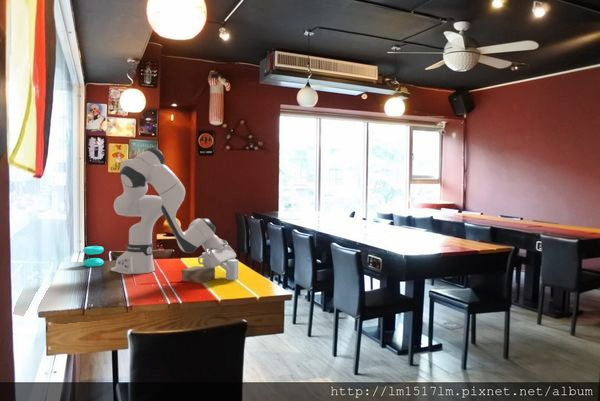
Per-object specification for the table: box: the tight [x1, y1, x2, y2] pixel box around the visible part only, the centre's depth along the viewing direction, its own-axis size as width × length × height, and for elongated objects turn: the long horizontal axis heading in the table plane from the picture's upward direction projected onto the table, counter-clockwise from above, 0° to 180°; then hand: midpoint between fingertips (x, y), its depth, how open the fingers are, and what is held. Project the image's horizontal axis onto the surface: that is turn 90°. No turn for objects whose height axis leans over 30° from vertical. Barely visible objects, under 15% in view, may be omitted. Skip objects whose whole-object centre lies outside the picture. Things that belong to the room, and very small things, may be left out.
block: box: [225, 259, 239, 281], centre depth 220 cm, size 4×4×9 cm
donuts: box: [82, 245, 104, 268], centre depth 246 cm, size 10×10×10 cm
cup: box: [197, 251, 216, 268], centre depth 246 cm, size 11×8×8 cm
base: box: [181, 265, 216, 284], centre depth 218 cm, size 11×11×5 cm
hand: (232, 268), depth 220 cm, fingers open, 8 cm apart
